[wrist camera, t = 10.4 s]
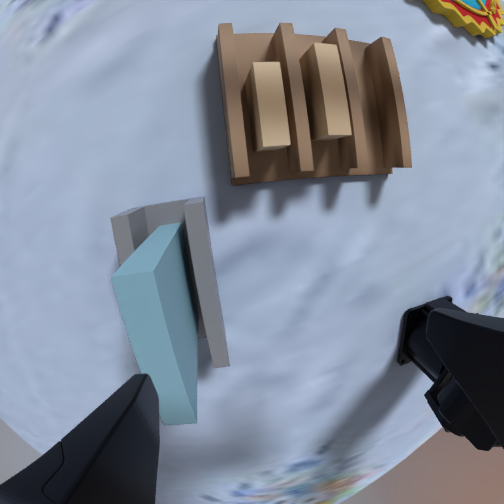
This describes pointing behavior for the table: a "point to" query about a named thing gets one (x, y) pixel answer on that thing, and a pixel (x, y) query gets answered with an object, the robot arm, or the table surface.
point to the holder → (198, 254)
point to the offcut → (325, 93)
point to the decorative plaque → (471, 15)
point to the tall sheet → (162, 320)
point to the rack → (302, 148)
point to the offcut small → (267, 107)
